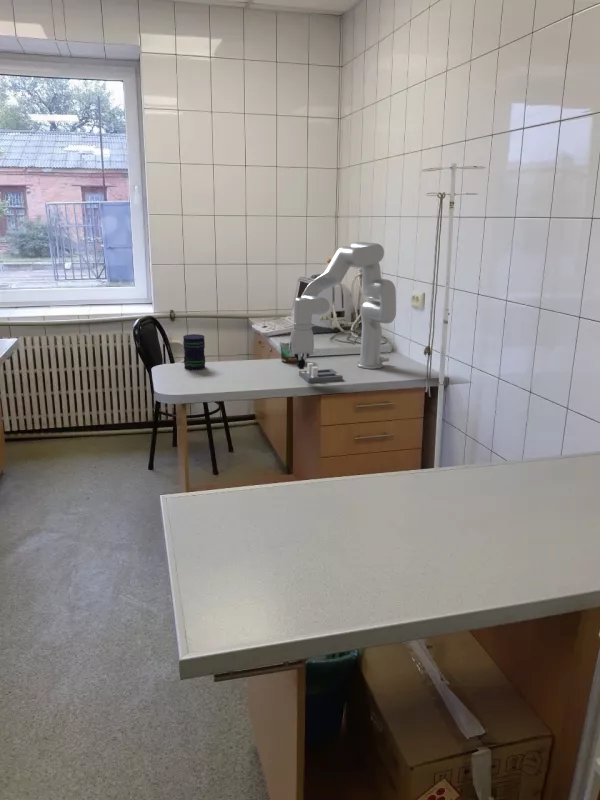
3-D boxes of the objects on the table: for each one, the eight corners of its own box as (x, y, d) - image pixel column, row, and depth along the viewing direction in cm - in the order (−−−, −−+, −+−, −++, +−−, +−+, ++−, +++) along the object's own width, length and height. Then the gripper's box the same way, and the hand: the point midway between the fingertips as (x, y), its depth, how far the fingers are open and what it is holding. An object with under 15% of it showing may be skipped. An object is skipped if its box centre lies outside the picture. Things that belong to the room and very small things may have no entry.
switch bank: (331, 373, 287) (331, 368, 286) (342, 380, 275) (342, 375, 274) (298, 375, 282) (299, 370, 281) (308, 383, 270) (308, 378, 269)
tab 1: (312, 373, 282) (312, 362, 280) (314, 374, 279) (314, 364, 278) (306, 373, 281) (306, 363, 279) (308, 375, 278) (308, 364, 277)
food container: (284, 365, 299) (284, 344, 296) (278, 362, 304) (279, 342, 301) (306, 362, 305) (307, 342, 302) (301, 359, 310) (301, 340, 307)
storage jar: (202, 364, 297) (201, 333, 293) (208, 369, 289) (207, 337, 284) (181, 366, 293) (180, 335, 289) (187, 371, 285) (186, 339, 280)
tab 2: (316, 377, 276) (316, 366, 274) (318, 378, 273) (319, 368, 271) (310, 377, 275) (310, 366, 273) (312, 379, 272) (312, 368, 270)
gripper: (315, 324, 270) (313, 365, 276) (283, 325, 266) (282, 367, 271) (321, 328, 264) (319, 369, 269) (288, 329, 259) (287, 371, 264)
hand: (300, 368), depth 270 cm, fingers closed
